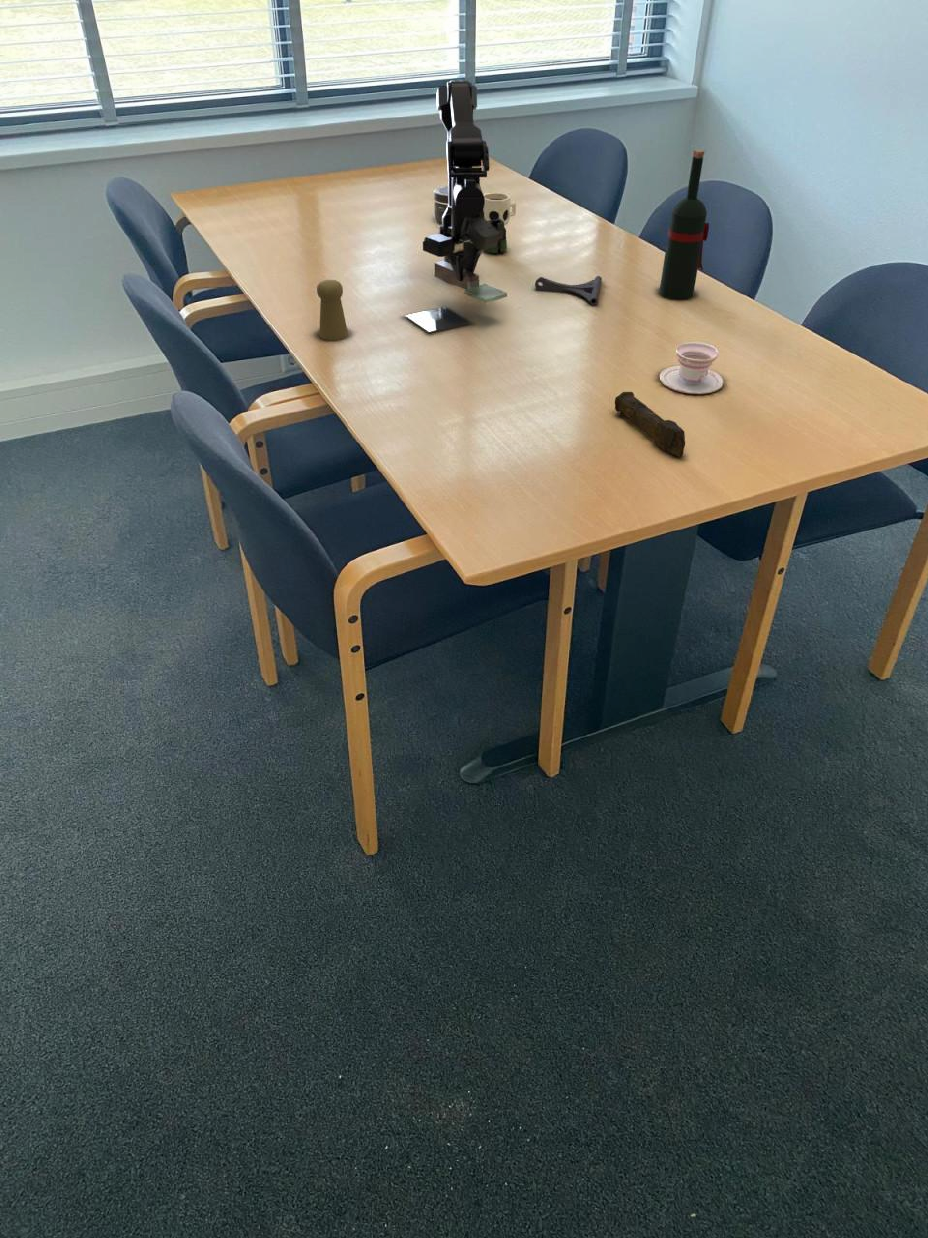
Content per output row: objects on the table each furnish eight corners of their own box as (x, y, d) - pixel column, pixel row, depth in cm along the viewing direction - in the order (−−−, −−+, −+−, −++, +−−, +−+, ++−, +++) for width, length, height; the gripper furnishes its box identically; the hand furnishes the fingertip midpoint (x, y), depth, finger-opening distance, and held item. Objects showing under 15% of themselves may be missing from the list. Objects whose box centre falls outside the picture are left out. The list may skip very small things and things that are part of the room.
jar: (477, 218, 253) (477, 189, 248) (457, 228, 246) (458, 197, 241) (447, 212, 257) (447, 183, 252) (427, 221, 250) (426, 191, 245)
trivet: (405, 317, 198) (405, 315, 198) (445, 308, 202) (445, 306, 202) (429, 333, 192) (429, 331, 191) (469, 324, 196) (469, 321, 195)
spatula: (428, 278, 201) (428, 264, 200) (449, 272, 205) (449, 258, 203) (486, 303, 191) (486, 288, 189) (507, 296, 194) (507, 282, 192)
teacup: (709, 401, 169) (716, 369, 165) (649, 385, 174) (654, 354, 170) (731, 377, 177) (738, 346, 173) (673, 362, 182) (678, 332, 178)
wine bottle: (708, 294, 210) (734, 151, 191) (673, 302, 207) (696, 157, 187) (686, 283, 216) (709, 143, 196) (652, 290, 212) (672, 148, 193)
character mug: (479, 257, 228) (480, 202, 220) (469, 248, 233) (469, 194, 225) (519, 252, 231) (522, 198, 223) (508, 244, 236) (510, 190, 228)
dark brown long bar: (611, 412, 165) (614, 388, 162) (631, 408, 166) (634, 385, 163) (666, 462, 152) (670, 437, 149) (687, 458, 153) (692, 433, 150)
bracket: (538, 278, 218) (539, 266, 216) (601, 282, 215) (602, 270, 214) (531, 300, 207) (531, 288, 205) (596, 305, 205) (598, 293, 203)
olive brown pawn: (352, 331, 192) (349, 278, 185) (340, 342, 188) (336, 288, 181) (326, 327, 194) (322, 274, 187) (314, 337, 189) (308, 284, 182)
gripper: (456, 220, 178) (455, 300, 188) (525, 203, 187) (521, 279, 197) (420, 207, 184) (421, 285, 194) (489, 191, 193) (487, 266, 203)
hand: (464, 279), depth 197 cm, fingers closed on spatula, 2 cm apart
